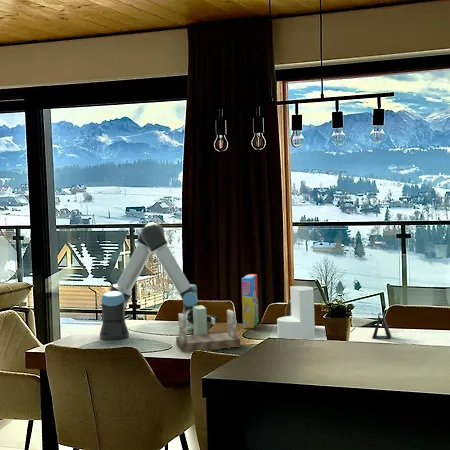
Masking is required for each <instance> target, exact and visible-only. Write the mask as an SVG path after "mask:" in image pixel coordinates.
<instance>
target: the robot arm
mask: <svg viewBox="0 0 450 450" xmlns="http://www.w3.org/2000/svg"><path fill="white" fill-rule="evenodd" d="M136 242H137V243H136V244H137V245H136V247H135V249H134V251H133V253H132V255H131V256H130V258H129V259H128V262H127V264H126V265H125V267H124V270H123V271H122V273H121V275H120V276H119V279H118V280H117V282H116V283H113V284H111V287H110V290H108V291H106V292H103V293H102V294H101V298H100V301H101V314H102V315H101V317H102V324H101V327H100V331H99V339H100V340H106V341H107V340H108V341H111V340H112V341H113V340H123V339H127V338H129V336H130V331H129V329H128V325H127V324H126V323H127V322H126V315H125V314H126V313H125V312H126V311H125V309H126V308H127V305H128V303H129V301H130V299H131V297H132V295H133V294H132V289H133V287H134V286H135V284H136V282H137V280H138V278H139V276H140V275H141V273H142V271H143V269H144V267H145V266H146V263H147V262H148V260H149V258H150V257H151V254H152V253H153V254H154V255H155V256H156V258H157V259H158V261H159V263H160V264H161V266H162V268H163V269H164V271H165V273H166V274H167V277H168V278H169V280H170V281H171V283H172V285H173V287H174V288H175V289H176V292H177V293H178V295H179V296H180V298H181V299H182V303H183V309H182V313H183V314H184V315H185V316H186V328H187V327H189V323H190V324H192V325H193V306H198V301H199V300H198V288H197V285H196V284H191V283H190V282H189V280H188V278H187V277H186V275H185V273H184V272H183V270H182V269H181V267H180V265H179V264H178V261H177V259H176V258H175V256H174V255H173V254H172V252H171V250H170V249H169V247H168V241H167V239H166V237H165V230H164V228H163V225H161V223H159V222H155V221H151V222H148V223H146V224H145V225H144V226H143V227H142V230H141V232H140V234H139V235H138V237H137V240H136ZM206 316H207V323H208V322H209V323H211V324H212V325H216V322H218V321H219V318H218V316H215V315H209V314H206Z"/></svg>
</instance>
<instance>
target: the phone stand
mask: <svg viewBox="0 0 450 450" xmlns="http://www.w3.org/2000/svg"><path fill="white" fill-rule="evenodd" d="M380 315H381V316H382V317H380ZM381 322H382V324H383V329H384V332H385V335H378V330H379V326H380V323H381ZM389 328H390V327H389V326H388V324H387V321H386V318H385V313H384V312H382V313H381V312H379V313H378V314H377V322H376V326H375V328H374V331H373V334H372V337H371V338H372V339H373V340H391V339H392V333H391V331H390V329H389Z"/></svg>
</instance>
